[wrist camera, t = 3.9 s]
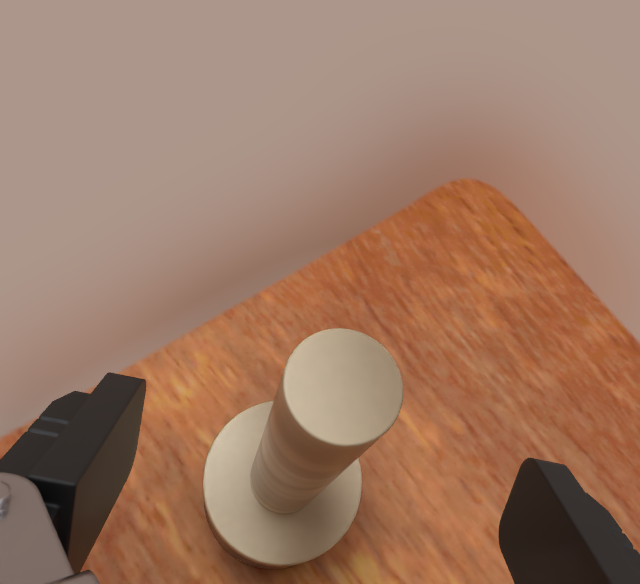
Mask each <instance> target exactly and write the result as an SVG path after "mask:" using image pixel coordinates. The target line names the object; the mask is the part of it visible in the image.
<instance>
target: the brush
mask: <svg viewBox="0 0 640 584" xmlns="http://www.w3.org/2000/svg"><path fill="white" fill-rule="evenodd" d="M402 401H403V382H402V378H401V374H400V371H399V369H398V366H397V364H396V362H395V360H394V359H393V357H392V356H391V354H390V353H389V352H388V351H387V350H386V349H385V347H383V346H382V345H381V344H380V343H379V342H378V341H376V340H375V339H373V338H372V337H370V336H368V335H366V334H364V333H361V332H358V331H355V330H350V329H340V328H336V329H328V330H323V331H320V332H317V333H315V334H313V335H311V336H309V337H307V338H306V339H305V340H303V341H302V342H301V343H300V344H299V345H298V346H297V347H296V348H295V349H294V351H293V352H292V353H291V355H290V357H289V359H288V361H287V363H286V366H285V369H284V372H283V375H282V378H281V381H280V384H279V387H278V390H277V393H276V396H275V399H274V401H268V402H264V403H261V404H257V405H255V406H252V407H250V408H248V409H246V410H244V411H243V412H241V413H239V414H238V415H237V416H235V417H234V418H233V419H232V420H231V421H229V422H228V423H227V424H226V425H225V426H224V428H223V429H222V430H221V431H220V433H219V434H218V435H217V437H216V439H215V440H214V442H213V444H212V446H211V448H210V450H209V453H208V456H207V459H206V462H205V468H204V473H203V494H204V507H205V513H206V517H207V520H208V523H209V526H210V528H211V530H212V532H213V534H214V536H215V537H216V539H217V540H218V542H219V543H220V544H221V545H222V546H223V548H224V549H225V550H226V551H227V552H229V553H230V554H231V555H232V556H233V557H235V558H236V559H238V560H240V561H242V562H243V563H246V564H248V565H251V566H254V567H258V568H262V569H283V568H288V567H292V566H295V565H298V564H301V563H304V562H307V561H310V560H312V559H314V558H316V557H318V556H320V555H322V554H324V553H325V552H327V551H328V550H329V549H331V548H332V547H333V546H334V545H335V544H336V543H337V542H339V541H340V539H341V538H342V537H343V536H344V534H345V533H346V532H347V530H348V529H349V527H350V526H351V524H352V522H353V520H354V518H355V515H356V513H357V510H358V507H359V504H360V498H361V493H362V474H361V467H360V462H359V459H358V457H360V456H361V455H362V454H363V453H364V452H365V451H366V450H367V449H368V448H369V447H370V446H372V445H373V444H374V443H375V442H376V441H377V440H378V439H379V438H380V437H381V436H382V435H384V434H385V433H386V432H387V431H388V430H389V429H390V427H391V426H392V425H393V424H394V422H395V420H396V419H397V417H398V415H399V412H400V409H401V406H402Z"/></svg>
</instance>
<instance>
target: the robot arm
mask: <svg viewBox="0 0 640 584" xmlns="http://www.w3.org/2000/svg"><path fill="white" fill-rule="evenodd" d="M145 392H146V380H144V379H139V378H135V377H130V376H125V375H120V374H115V373H107V374H106V375H105V377H104V378H103V379H102V380H101V382H100V383H99V384H98V385H97V387H96V388H95V389H94V391H93V392H92V393H91V394H88V393H83V392H78V391H74V392H71V393H69V394H67V395H65V396H63V397H61V398H59V399H57V400H55V401H53V402H52V403H51V404H50V405H49V406H48V407H47V408H46V410H45V411H44V412H43V413H42V414H41V415H40V417H39V419H37V420H36V421H35V422H34V423H33V424H32V425H31V426H30V427H29V429H28V432H25V433H24V434H23V435H22V436H21V437H20V439H19V440H18V441H17V442H16V443H15V444H14V445H13V446H12V447H11V449H10V450H9V451H8V452H7V453H6V454H5V455H4V456H3V458H2V459H1V460H0V584H100V583H99V581H98V579H97V577H96V576H95V575H94V573H93V572H92V571H90V570H86V571H83V572H80V571H81V569H82V567H83V565H84V563H85V561H86V559H87V557H88V555H89V553H90V551H91V549H92V547H93V545H94V543H95V541H96V539H97V537H98V535H99V533H100V531H101V529H102V528H103V526H104V524H105V522H106V520H107V518H108V516H109V514H110V512H111V510H112V508H113V506H114V504H115V502H116V500H117V498H118V496H119V494H120V492H121V490H122V488H123V486H124V484H125V482H126V480H127V478H128V476H129V474H130V471H131V468H132V465H133V462H134V458H135V454H136V449H137V444H138V437H139V431H140V424H141V418H142V412H143V405H144V399H145ZM499 545H500V549H501V552H502V554H503V556H504V559H505V561H506V564H507V566H508V568H509V571H510V573H511V576H512V578H513V580H514V583H515V584H640V554H639V553H638V552H637V550H634V549H633V545H632V543H631V542H630V541H629V539H628V538H627V536H626V535H625V534H623V533H622V529H621V528H620V527H619V525H618V524H617V523H616V521H615V520H614V518H613V517H612V516H611V514H610V513H609V511H607V510H606V509H605V508H604V507H603V506H602V505H600V504H599V503H598V502H597V501H596V500H595V499H593V498H592V497H591V496H590V495H589V494H588V493H585V492H584V490H583V489H582V487H581V486H580V485H579V483H578V482H577V480H576V479H575V477H574V476H573V475H572V473H571V472H570V470H569V469H568V468H567V466H565V465H563V464H558V463H553V462H548V461H544V460H539V459H534V458H527V459H526V460H525V461H524V462H523V463H522V465H521V467H520V469H519V472H518V474H517V477H516V480H515V482H514V485H513V488H512V490H511V493H510V496H509V498H508V501H507V504H506V506H505V509H504V512H503V514H502V517H501V520H500V525H499Z"/></svg>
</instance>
